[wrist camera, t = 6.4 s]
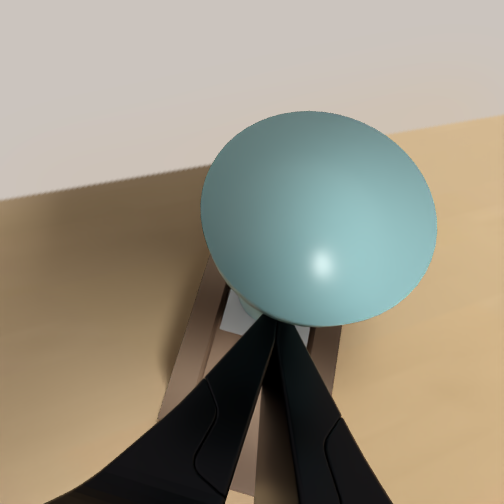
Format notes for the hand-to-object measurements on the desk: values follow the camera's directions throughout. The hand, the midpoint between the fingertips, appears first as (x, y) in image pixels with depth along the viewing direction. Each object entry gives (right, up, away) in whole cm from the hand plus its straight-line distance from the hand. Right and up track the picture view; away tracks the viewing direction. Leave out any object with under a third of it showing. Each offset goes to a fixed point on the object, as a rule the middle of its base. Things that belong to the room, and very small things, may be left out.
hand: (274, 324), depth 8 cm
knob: (0, 0, +8) cm, 8 cm away
